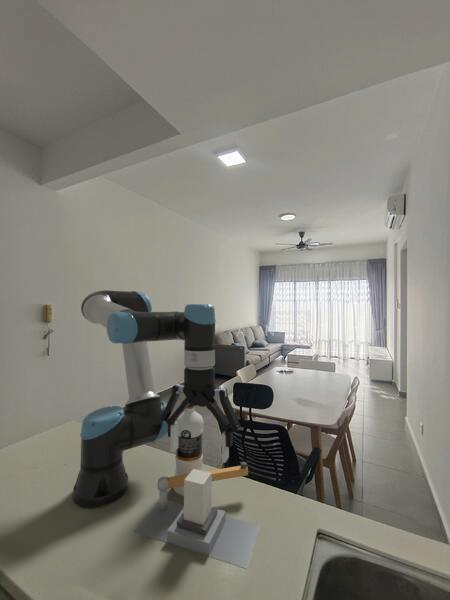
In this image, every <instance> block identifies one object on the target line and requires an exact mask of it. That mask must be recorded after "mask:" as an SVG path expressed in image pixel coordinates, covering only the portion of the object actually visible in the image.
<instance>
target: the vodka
mask: <svg viewBox="0 0 450 600" xmlns="http://www.w3.org/2000/svg"><path fill="white" fill-rule="evenodd" d="M175 422H179V440H178V449H177V450H176V451H175V473H174V476H179V475H186V474H190V472H191V471H192V470H193V469H197V470H201V471H204V469H203V457H204V455H203V446H204V445H203V443H204V442H203V438H204V437H203V435H204V434H203V432H204V419H203V416H202V415H201V414H200V413H198V412H197V411H196V410H195V406H192V404H189V405H188V406H187V407H186V409H185V410H184V411H183V412H182V413H181V415H180V416H179V417H178V418H177V420H176V421H175ZM173 491H174V492H175V493H177V494H178V495H179V496H183V497H184V486H182V487H176V488H173Z"/></svg>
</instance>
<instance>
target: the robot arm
mask: <svg viewBox="0 0 450 600" xmlns="http://www.w3.org/2000/svg"><path fill="white" fill-rule="evenodd" d="M152 310H153V307H152V302H151V300H150V298H149V296H148V295H147V294H146V293H145V292H140V291H136V290H132V291H125V290H124V291H122V290H110V289H109V290H99V291H94V292H92V293H90V294H88V295H87V296H86V297H84V299H83V300H82V302H81V306H80V311H81V315H82V316H83V317H84V319H85V320H87V321H89V322H90V323H92V324H99V325H101V326H102V327H103V328H106V333H107V337H108V340H109V341H110V342H111V343H112V344H121V346H122V347H121V348H122V353H123V361H124V368H125V369H124V370H125V376H126V386H127V393H128V399H127V401H126V403H125V404H124V406H125V408H123V407H122V406H119V405H114V406H104V407H102V408H98V409H95V410H94V411H92V412H89V413H88V415H86V416H85V417H84V418H83V420H82V421H81V428H80V429H81V430H80V434H79V435H80V469H79V471H78V475H77V477H76V481H75V483H74V486H73V489H72V500H73V503H74V505H76V506H78V507H80V508H84V509H95V508H97V509H98V508H101V507H105V506H109V505H110V504H112V503H114V502H116V501H118V500H120V499H121V498H122V497H123V496H124V495H125V494H126V493H127V491H128V488H129V476H128V473H127V472H126V468H125V464H124V461H123V458H124V457H123V455H124V451H127V450H129V449H133V448H137V447H140V446H144V445H146V444H147V445H148V444H150V443H151V444H152V443H155V442H156V441H158V440H161V439H163V438H164V437H166V436H167V437H168V438H170V449H169V450H170V453H171V454H173V453H176V450H177V449H178V440H179V422H176V420H177V418H178V417H179V416H180V415H181V414H182V413H183V412H185V411H186V407H187V406H188V405H189V404H192V406H194V407H196V406H198V407H200V408H204V407H206V408H207V410H208V411H210V413H211V414H212V415H213V417H214V418H215V419H216V421H217V423H218V424H219V426H220V427H221V428H222V429H223V432H222V433H221V463H222V464H226V462H227V461H228V459H229V458H230V453H229V452H230V448H231V447H232V445H233V438H234V437H233V435H234V433H237V432H238V431H239V430H240V429H241V424H240V422H239V418H238V416H237V415H236V412H235V410H234V407H233V405H232V403H231V400H230V399H229V395H228V393H229V392H228V389H227V387H223V388H216V386H215V383H216V381H215V380H216V378H215V377H216V369H215V367H214V366H215V365H216V353H215V352H216V350H215V348H216V314H215V306H213V304H211V303H210V304H209V303H192V304H191V303H189V304H186V305H185V306H184V311H152ZM178 340H179V341H183V342H184V349H183V354H184V355H183V356H184V360H183V361H184V363H183V364H184V367H185V368H184V369H183V382H184V385H183V384H181V383H180V382H178V383H176V384H174V385H173V386H172V388H171V389H172V391H171V395H170V397H169V400H168V402H166V401H163V400H161V395H159V394H158V393H157V392H156V391H155V385H154V384H155V383H154V379H153V373H152V365H151V361H150V353H149V348H148V347H149V345H148V342H160V341H178ZM182 393H183V394H184V396H185V397H184V399H183V400H182V402H181V403H180V404H179V406H178V407H177V408H176V409H175V411H174V408H175V406H176V404H177V402H178V399H179V398H180V395H181V394H182ZM215 396H217V398H218V399H219V401H220V405H221V406H222V408H223V410H222V409H221V407H220V406H219V405H218V401H217V400H216V399H215ZM173 411H174V412H173Z"/></svg>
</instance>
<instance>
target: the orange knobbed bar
mask: <svg viewBox="0 0 450 600" xmlns="http://www.w3.org/2000/svg"><path fill="white" fill-rule="evenodd" d="M205 471H206V472H210V473H212V482H216V481H222V480H228V479H234V478H239V477H245V476H249V468H248V463H247V462H245V461H241V462H240V465H237V466H230V467H226V468H217V469H211V470H205ZM188 475H189V474H186V475H179V476H175V475H174V476H162V477H159V478H158V479H157V491H159V492H160V491H166V490H167V491H168V490H169V489H174V488H176V487H182V486H184V480H185V478H186V477H187V476H188Z"/></svg>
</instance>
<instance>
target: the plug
mask: <svg viewBox="0 0 450 600" xmlns="http://www.w3.org/2000/svg"><path fill="white" fill-rule="evenodd" d="M206 471H207V470H203V471H201V470H197V469H193V470H192V471H191V472H190V474H189V475H188V476H187V477H186V478H185V480H184V496H183V505H184V512H183V514H182V515H181V516H180V518H179V519H178V521H177V526H178V527H181V528H185V529H188V530H191V531H195V532H198V533H201V534H204V535H206V533H207V531H208V530H209V528H210V526H211V524H212V522H213V520H214V518H215V517H216V515H217V513H218V509H219V508H216V507H213V506H212V483H213V481H212V473H210V472H206Z"/></svg>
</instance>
